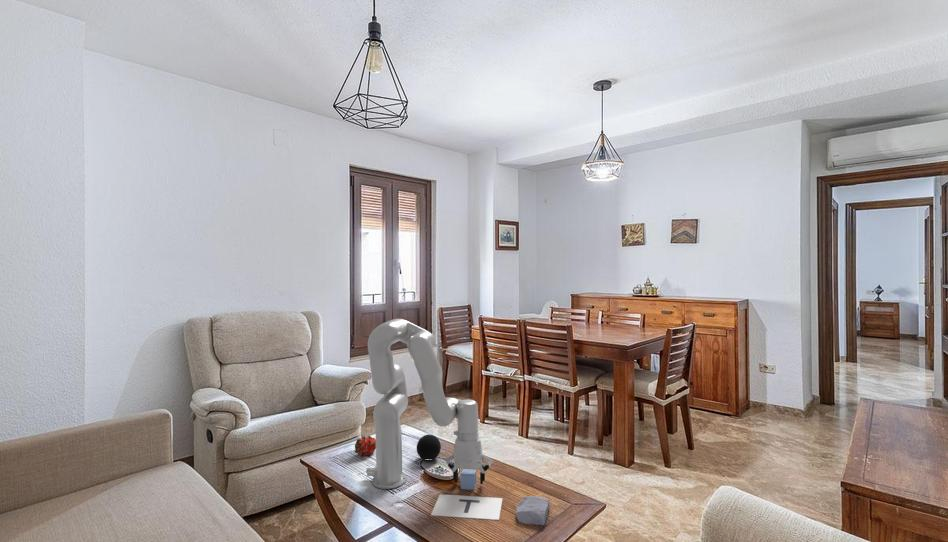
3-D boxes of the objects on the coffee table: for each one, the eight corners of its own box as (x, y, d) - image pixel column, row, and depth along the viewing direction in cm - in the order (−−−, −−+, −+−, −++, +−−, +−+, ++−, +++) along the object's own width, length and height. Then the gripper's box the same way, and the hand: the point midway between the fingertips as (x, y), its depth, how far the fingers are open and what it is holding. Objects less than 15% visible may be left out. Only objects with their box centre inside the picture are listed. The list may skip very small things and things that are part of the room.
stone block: (515, 528, 140) (547, 526, 137) (512, 512, 140) (543, 510, 138) (522, 509, 151) (552, 508, 149) (519, 495, 152) (549, 493, 149)
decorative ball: (442, 463, 182) (441, 439, 182) (417, 465, 181) (416, 441, 180) (440, 453, 192) (439, 430, 192) (416, 455, 190) (416, 431, 190)
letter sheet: (430, 515, 145) (430, 514, 145) (439, 494, 157) (439, 494, 157) (498, 520, 141) (498, 519, 141) (502, 498, 154) (502, 498, 154)
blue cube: (460, 489, 161) (460, 475, 161) (463, 482, 166) (463, 469, 166) (474, 490, 161) (474, 476, 161) (476, 483, 166) (476, 469, 166)
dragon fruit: (353, 463, 187) (373, 457, 197) (366, 454, 184) (386, 448, 194) (346, 444, 190) (366, 438, 201) (359, 435, 187) (379, 430, 198)
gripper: (442, 438, 161) (443, 485, 161) (490, 439, 158) (491, 488, 158) (446, 430, 168) (447, 476, 168) (492, 431, 166) (493, 478, 166)
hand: (469, 481), depth 163 cm, fingers open, 9 cm apart
